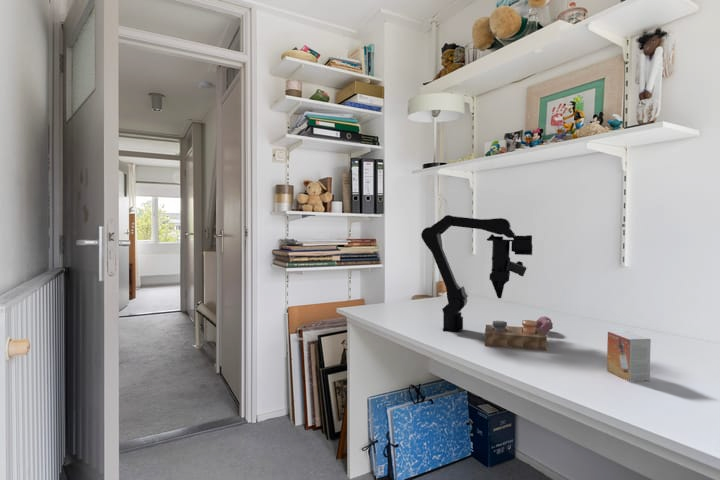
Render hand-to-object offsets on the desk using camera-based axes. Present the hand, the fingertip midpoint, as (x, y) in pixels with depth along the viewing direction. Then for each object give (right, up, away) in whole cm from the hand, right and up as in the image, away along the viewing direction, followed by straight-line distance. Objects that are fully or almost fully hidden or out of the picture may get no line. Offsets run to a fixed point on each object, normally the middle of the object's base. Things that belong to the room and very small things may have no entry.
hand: (499, 298), depth 145 cm
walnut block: (+1, -13, -11) cm, 17 cm away
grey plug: (-3, -13, -10) cm, 16 cm away
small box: (+18, -14, -41) cm, 47 cm away
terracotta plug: (+5, -12, -13) cm, 18 cm away
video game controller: (+15, -13, +2) cm, 20 cm away
